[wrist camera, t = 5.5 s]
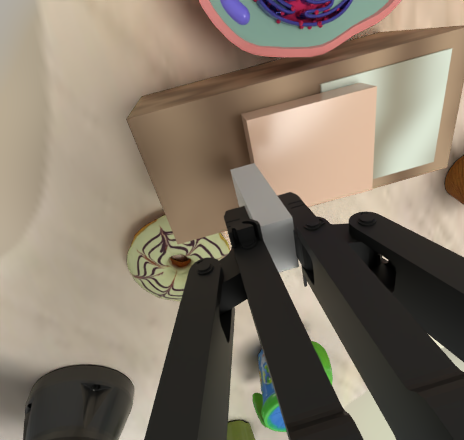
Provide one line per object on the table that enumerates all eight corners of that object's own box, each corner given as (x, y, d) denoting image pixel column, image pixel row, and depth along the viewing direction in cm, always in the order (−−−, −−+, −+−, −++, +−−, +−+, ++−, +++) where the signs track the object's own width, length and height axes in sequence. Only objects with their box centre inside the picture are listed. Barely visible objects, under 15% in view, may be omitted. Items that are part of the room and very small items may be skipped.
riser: (176, 192, 32) (177, 246, 23) (141, 96, 26) (125, 120, 18) (375, 136, 32) (449, 168, 24) (380, 32, 27) (477, 24, 18)
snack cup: (268, 382, 54) (285, 446, 46) (226, 367, 50) (237, 434, 41) (330, 333, 50) (363, 393, 41) (290, 311, 45) (318, 374, 36)
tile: (265, 218, 21) (372, 189, 21) (246, 120, 17) (377, 86, 17) (258, 204, 23) (358, 178, 23) (240, 113, 19) (359, 82, 19)
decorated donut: (157, 190, 31) (154, 208, 28) (243, 231, 36) (251, 250, 33) (115, 265, 35) (109, 288, 32) (198, 293, 40) (201, 316, 37)
